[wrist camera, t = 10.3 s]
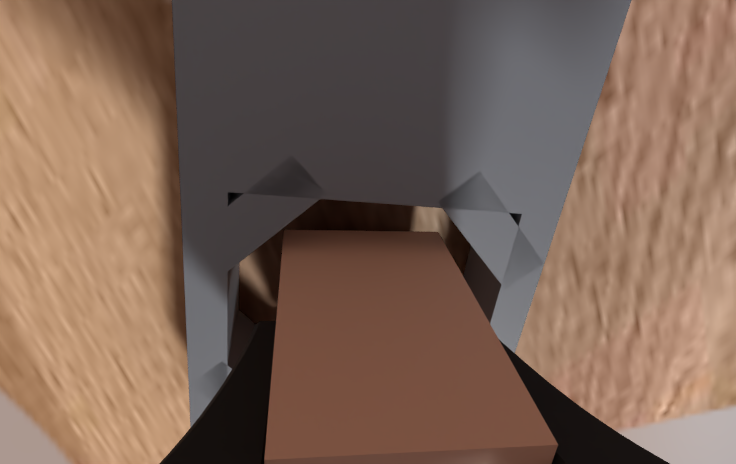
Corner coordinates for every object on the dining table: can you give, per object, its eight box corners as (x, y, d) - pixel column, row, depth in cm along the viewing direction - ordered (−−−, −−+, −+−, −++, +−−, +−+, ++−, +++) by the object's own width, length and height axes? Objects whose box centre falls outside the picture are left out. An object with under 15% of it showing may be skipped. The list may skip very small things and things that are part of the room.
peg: (438, 232, 13) (558, 444, 7) (419, 351, 15) (501, 603, 9) (283, 229, 13) (263, 459, 6) (284, 354, 14) (269, 627, 8)
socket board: (192, -247, 9) (157, -324, 7) (614, -155, 11) (695, -194, 8) (207, 383, 16) (191, 446, 14) (461, 386, 17) (484, 443, 15)
